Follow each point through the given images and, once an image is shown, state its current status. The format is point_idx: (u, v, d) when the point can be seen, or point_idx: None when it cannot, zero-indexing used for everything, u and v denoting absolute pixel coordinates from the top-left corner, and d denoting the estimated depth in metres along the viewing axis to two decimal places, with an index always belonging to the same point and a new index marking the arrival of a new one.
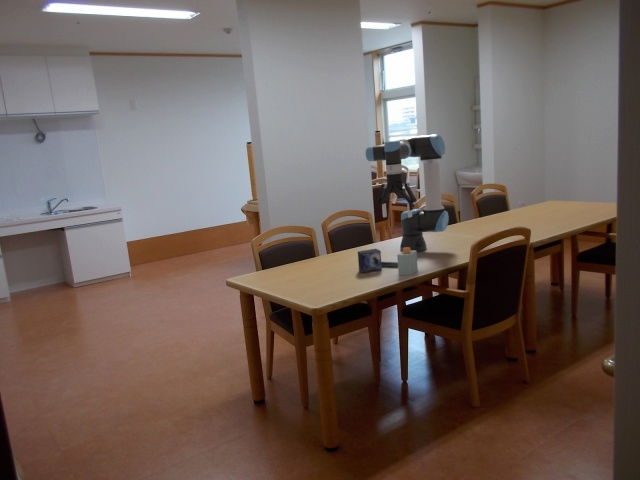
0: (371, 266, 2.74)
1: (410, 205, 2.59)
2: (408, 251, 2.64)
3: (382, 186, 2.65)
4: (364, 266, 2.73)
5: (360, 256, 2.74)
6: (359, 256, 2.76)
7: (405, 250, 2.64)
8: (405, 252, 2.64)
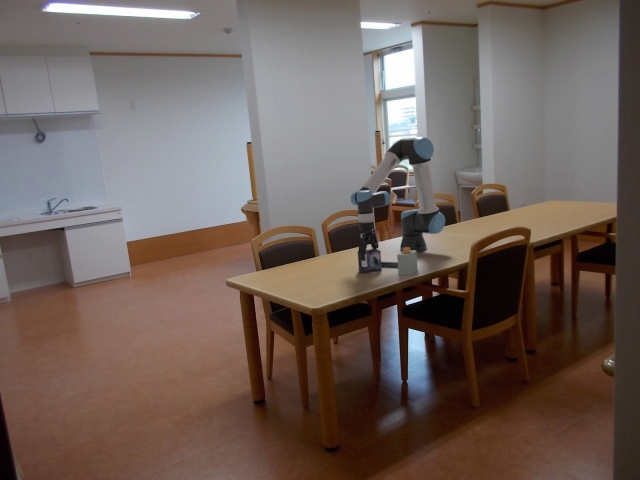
0: (371, 266, 2.74)
1: None
2: (408, 251, 2.64)
3: None
4: None
5: (360, 256, 2.74)
6: (359, 256, 2.75)
7: (405, 250, 2.64)
8: (405, 252, 2.64)
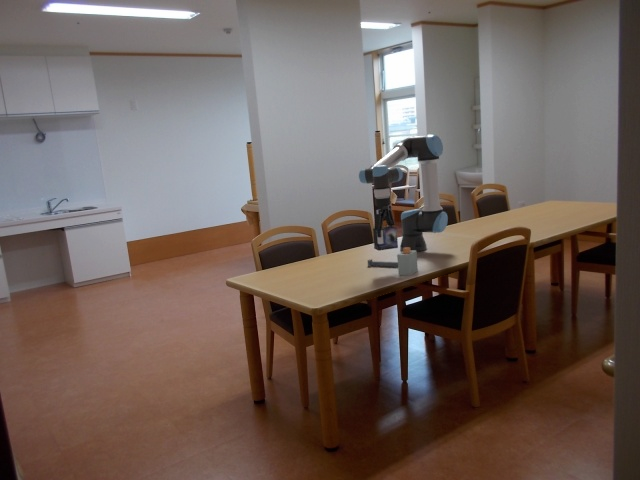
0: (387, 243, 2.67)
1: None
2: (408, 251, 2.64)
3: None
4: None
5: (376, 233, 2.67)
6: (374, 233, 2.68)
7: (405, 250, 2.64)
8: (405, 252, 2.64)
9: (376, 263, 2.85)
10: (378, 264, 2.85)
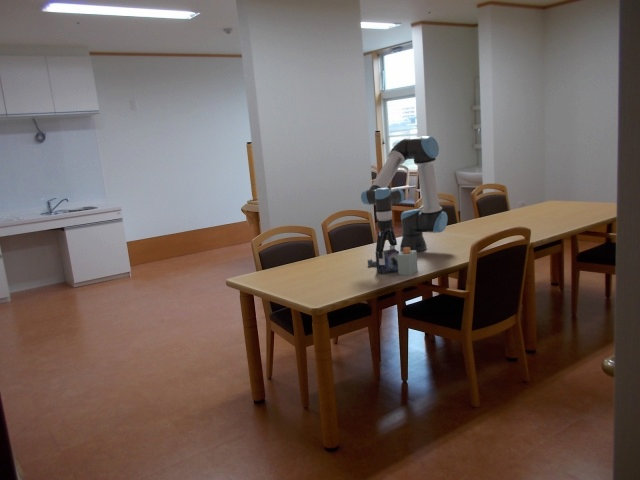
0: (389, 267, 2.69)
1: None
2: (408, 251, 2.64)
3: None
4: (383, 267, 2.68)
5: (378, 257, 2.69)
6: (377, 256, 2.70)
7: (405, 250, 2.64)
8: (405, 252, 2.64)
9: None
10: None
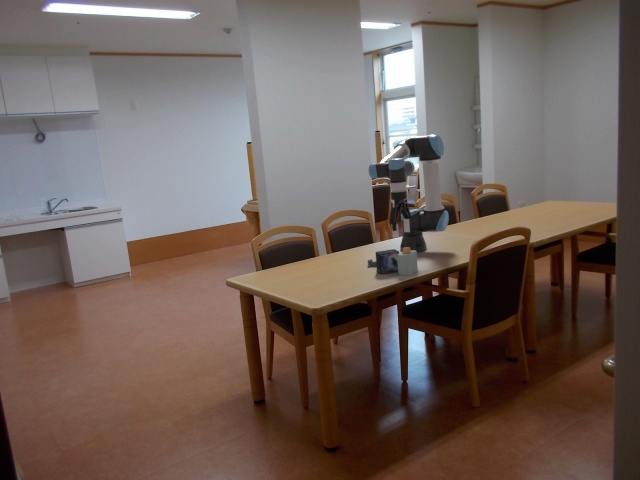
0: (389, 267, 2.69)
1: None
2: (408, 251, 2.64)
3: None
4: (383, 267, 2.68)
5: (378, 257, 2.69)
6: (377, 256, 2.70)
7: (405, 250, 2.64)
8: (405, 252, 2.64)
9: None
10: None
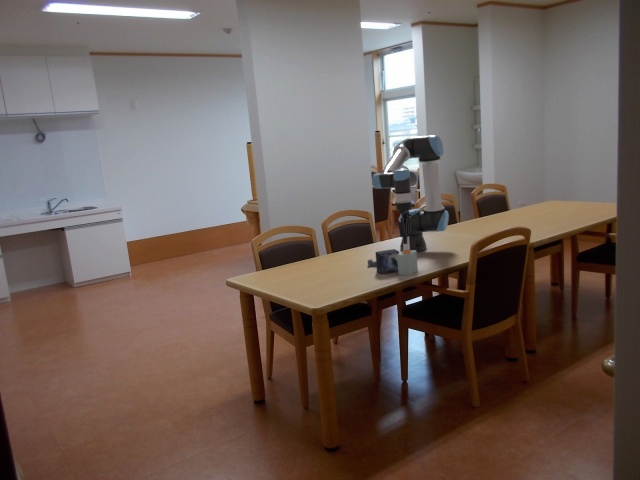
0: (389, 267, 2.69)
1: None
2: (408, 253, 2.64)
3: None
4: (383, 267, 2.68)
5: (378, 257, 2.69)
6: (377, 256, 2.70)
7: (405, 252, 2.64)
8: None
9: None
10: None
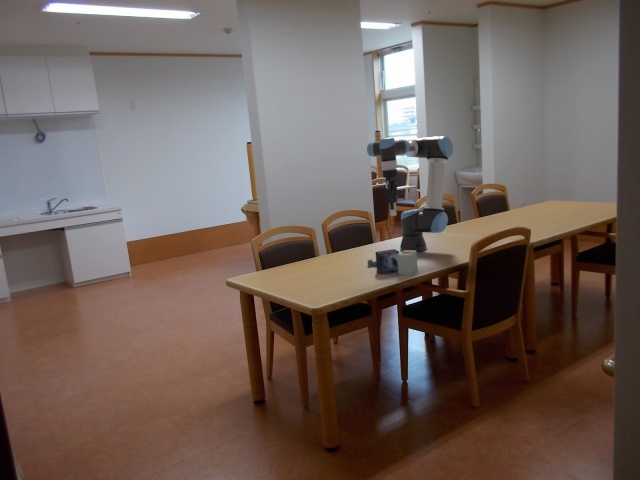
0: (389, 267, 2.69)
1: None
2: None
3: None
4: (383, 267, 2.68)
5: (378, 257, 2.69)
6: (377, 256, 2.70)
7: (405, 253, 2.64)
8: None
9: None
10: None
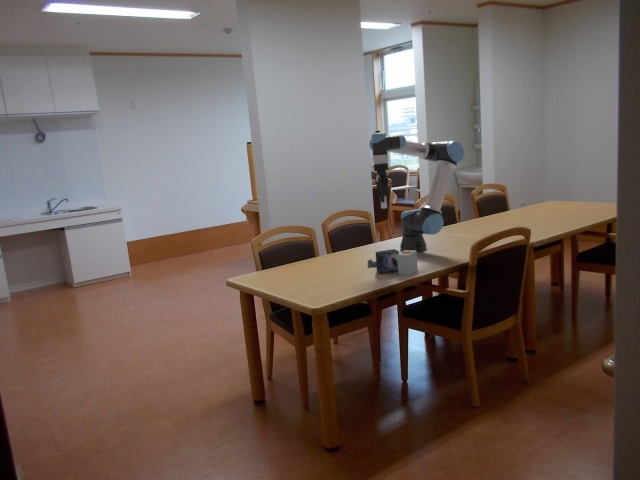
0: (389, 267, 2.69)
1: None
2: None
3: None
4: (383, 267, 2.68)
5: (378, 257, 2.69)
6: (377, 256, 2.70)
7: (405, 253, 2.64)
8: None
9: None
10: None
